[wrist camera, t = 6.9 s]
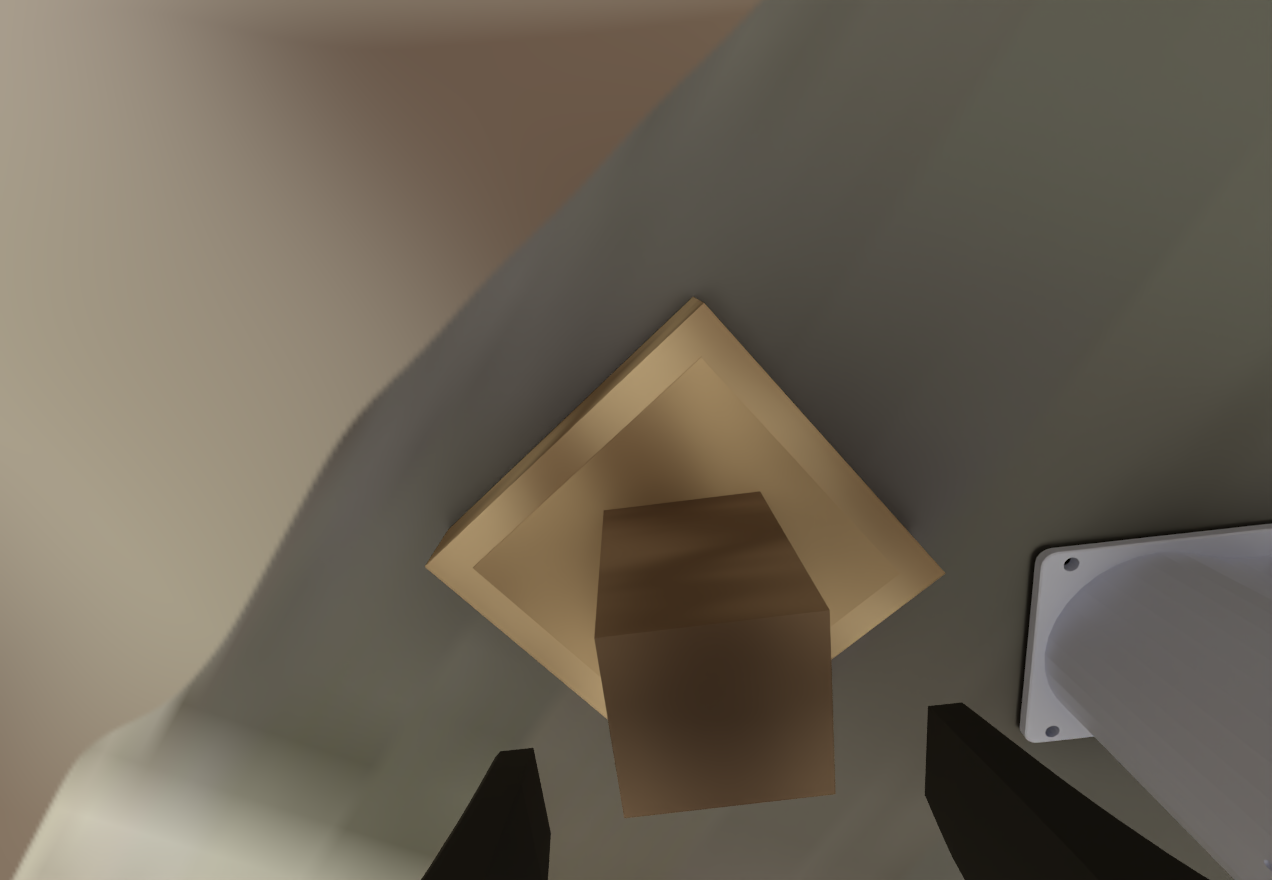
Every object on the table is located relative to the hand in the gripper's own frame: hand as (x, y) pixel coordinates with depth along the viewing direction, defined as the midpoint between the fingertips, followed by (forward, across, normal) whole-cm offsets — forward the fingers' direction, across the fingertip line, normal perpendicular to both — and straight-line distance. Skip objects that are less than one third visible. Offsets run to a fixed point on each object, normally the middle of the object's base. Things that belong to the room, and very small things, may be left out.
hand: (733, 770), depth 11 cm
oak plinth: (+10, 0, 0) cm, 10 cm away
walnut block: (+7, 0, 0) cm, 7 cm away
